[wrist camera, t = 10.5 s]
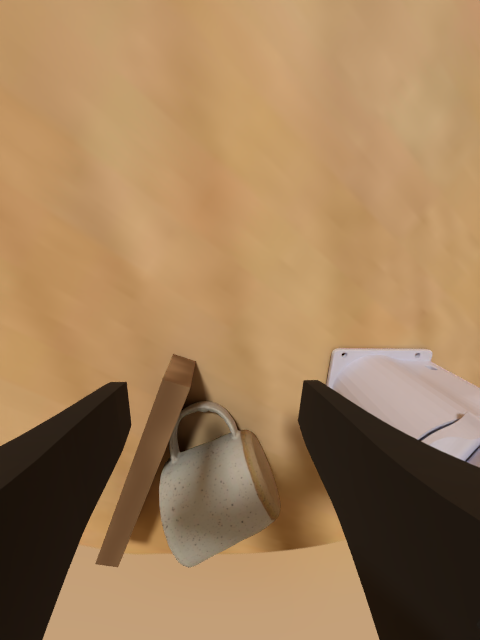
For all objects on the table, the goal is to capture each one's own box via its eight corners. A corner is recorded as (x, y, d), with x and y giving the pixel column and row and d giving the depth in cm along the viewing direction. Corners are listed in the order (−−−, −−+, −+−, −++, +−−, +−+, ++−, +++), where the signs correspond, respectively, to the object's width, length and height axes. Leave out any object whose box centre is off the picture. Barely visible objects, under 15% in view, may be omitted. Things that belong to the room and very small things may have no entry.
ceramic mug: (274, 460, 24) (296, 550, 17) (203, 491, 25) (196, 591, 18) (229, 380, 21) (234, 448, 14) (150, 417, 22) (115, 500, 15)
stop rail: (195, 361, 20) (190, 387, 17) (133, 518, 25) (118, 567, 21) (173, 354, 20) (162, 379, 16) (114, 515, 25) (95, 564, 21)
